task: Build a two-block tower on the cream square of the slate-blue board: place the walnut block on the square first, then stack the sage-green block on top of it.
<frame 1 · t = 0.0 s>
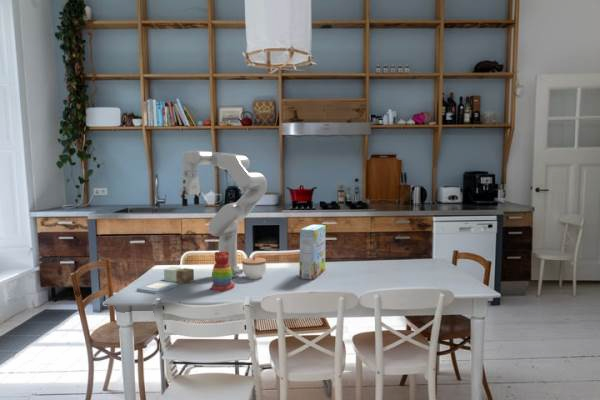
hand: (190, 205, 233), 37 cm above the table, tool pointing down, fingers open, 9 cm apart
walnut block: (185, 281, 214), on the table
stacking bear: (222, 289, 200), on the table
lidded bowl: (254, 277, 221), on the table
sage block: (173, 280, 217), on the table
snack box: (313, 275, 225), on the table
board: (157, 288, 202), on the table
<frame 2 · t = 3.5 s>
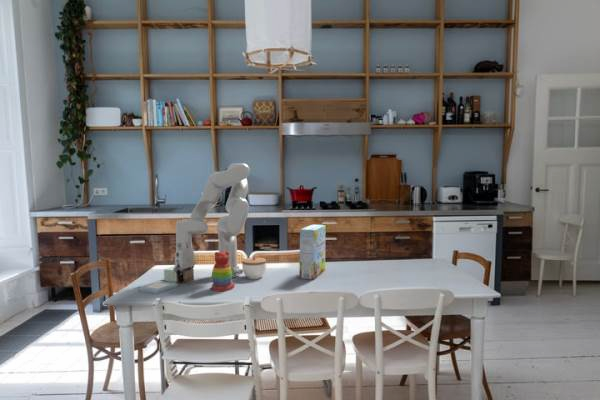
hand: (185, 280, 214), 1 cm above the table, tool pointing down, fingers closed on walnut block, 6 cm apart
walnut block: (185, 281, 214), on the table, touching gripper
everything else where it was.
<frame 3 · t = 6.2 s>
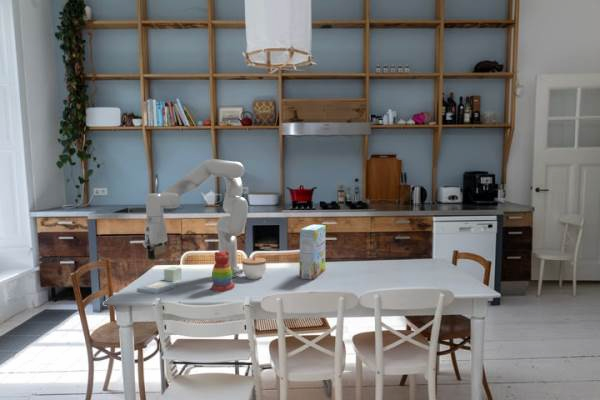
hand: (156, 256, 201), 15 cm above the table, tool pointing down, fingers closed on walnut block, 6 cm apart
walnut block: (156, 258, 201), point 15 cm above the table, touching gripper
everything else where it was.
when the fingers open (3 cm above the table, at t = 8.8 s): walnut block stays where it is, resting on board.
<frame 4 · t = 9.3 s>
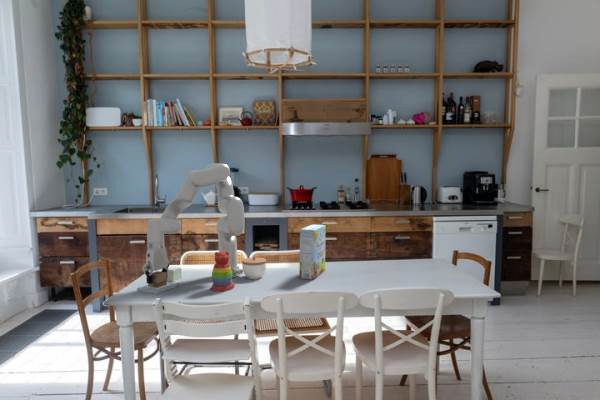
hand: (157, 280, 202), 4 cm above the table, tool pointing down, fingers open, 9 cm apart
walnut block: (157, 285, 202), point 1 cm above the table, touching board
everything else where it was.
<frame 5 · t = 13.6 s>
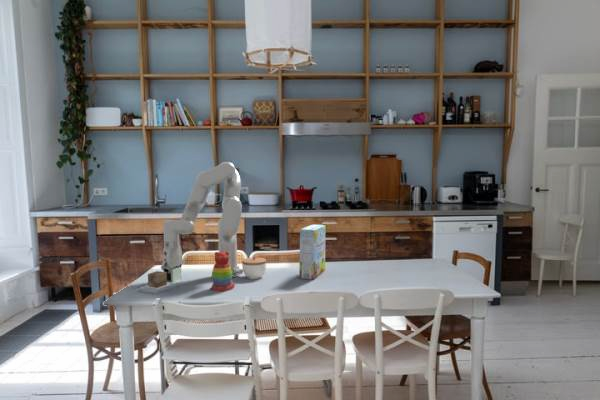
hand: (172, 278, 217), 1 cm above the table, tool pointing down, fingers closed on sage block, 6 cm apart
sage block: (172, 279, 217), on the table, touching gripper
everything else where it was.
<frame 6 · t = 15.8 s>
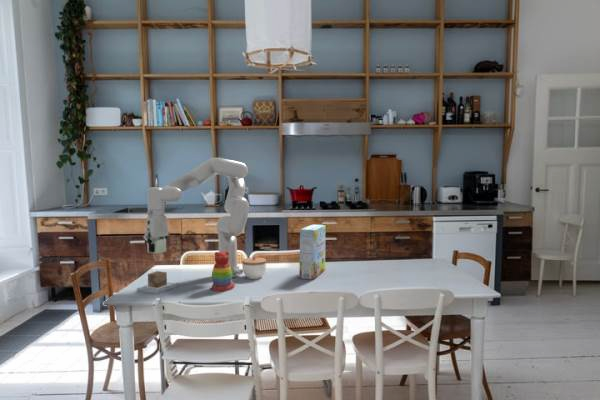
hand: (157, 250, 202), 18 cm above the table, tool pointing down, fingers closed on sage block, 6 cm apart
sage block: (156, 251, 202), point 17 cm above the table, touching gripper
everything else where it was.
when the fingers open (9 cm above the table, at t = 18.0 s): sage block stays where it is, resting on walnut block.
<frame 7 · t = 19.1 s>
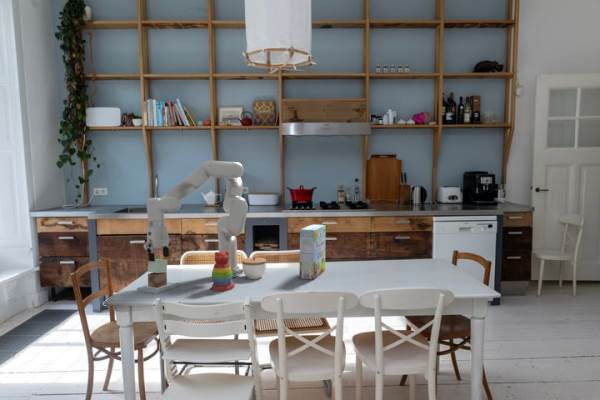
hand: (159, 258, 204), 14 cm above the table, tool pointing down, fingers open, 9 cm apart
walnut block: (157, 285, 202), point 1 cm above the table, touching board, sage block
sage block: (157, 272, 201), point 8 cm above the table, tilted 10°, touching walnut block
everything else where it was.
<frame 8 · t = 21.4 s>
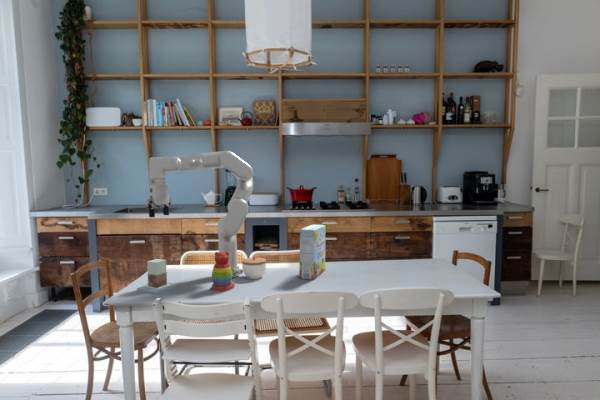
hand: (159, 216, 211), 33 cm above the table, tool pointing down, fingers open, 9 cm apart
sage block: (157, 273, 201), point 7 cm above the table, touching walnut block
everything else where it was.
at the end: walnut block inside the target area on the board (0.1 cm from its centre), point 1.3 cm above the board's base; sage block 0.1 cm off-centre on the walnut block, point 6.0 cm above the walnut block's base; sage block tilted 0° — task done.
